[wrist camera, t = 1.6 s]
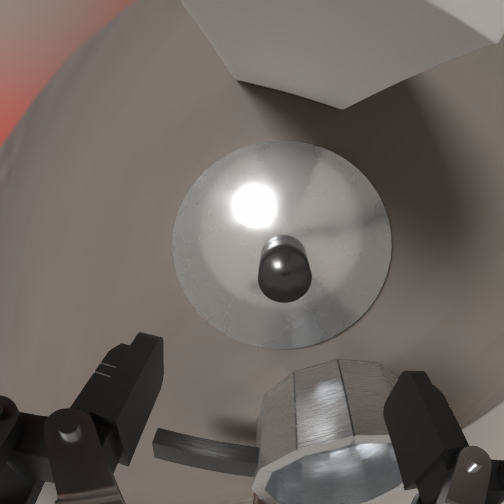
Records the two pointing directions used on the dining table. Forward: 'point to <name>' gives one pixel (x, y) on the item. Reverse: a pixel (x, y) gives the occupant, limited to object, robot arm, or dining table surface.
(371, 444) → the pot
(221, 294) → the lid
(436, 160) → the dining table surface
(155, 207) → the dining table surface
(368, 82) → the milk carton
